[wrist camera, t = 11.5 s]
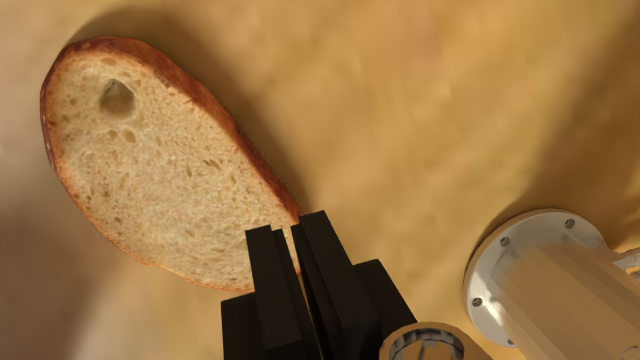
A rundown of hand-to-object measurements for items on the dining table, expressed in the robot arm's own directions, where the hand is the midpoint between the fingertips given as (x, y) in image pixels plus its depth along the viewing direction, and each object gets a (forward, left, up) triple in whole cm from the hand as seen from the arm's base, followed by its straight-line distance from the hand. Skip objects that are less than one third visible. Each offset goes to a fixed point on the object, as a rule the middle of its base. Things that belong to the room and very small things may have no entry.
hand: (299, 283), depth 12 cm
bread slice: (+4, +6, -28) cm, 29 cm away
